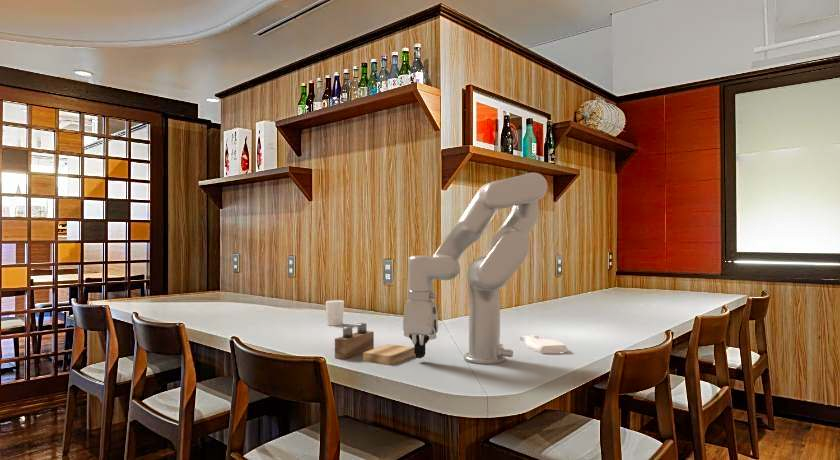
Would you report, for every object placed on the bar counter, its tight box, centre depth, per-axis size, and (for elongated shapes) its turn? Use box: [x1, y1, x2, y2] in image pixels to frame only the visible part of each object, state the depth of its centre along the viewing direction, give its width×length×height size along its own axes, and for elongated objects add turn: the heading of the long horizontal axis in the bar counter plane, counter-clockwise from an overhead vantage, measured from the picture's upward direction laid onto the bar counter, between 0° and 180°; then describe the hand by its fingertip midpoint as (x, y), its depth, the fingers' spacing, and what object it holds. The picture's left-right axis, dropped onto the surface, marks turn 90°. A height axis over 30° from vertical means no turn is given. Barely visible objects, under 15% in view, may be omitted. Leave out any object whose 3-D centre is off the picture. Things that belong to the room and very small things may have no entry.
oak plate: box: [362, 343, 415, 366], centre depth 163 cm, size 10×14×3 cm
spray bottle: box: [519, 334, 568, 354], centre depth 181 cm, size 3×11×25 cm
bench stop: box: [334, 322, 375, 360], centre depth 169 cm, size 4×16×9 cm, turn 152°
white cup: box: [325, 299, 345, 327], centre depth 225 cm, size 8×8×10 cm
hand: (419, 357), depth 158 cm, fingers closed
